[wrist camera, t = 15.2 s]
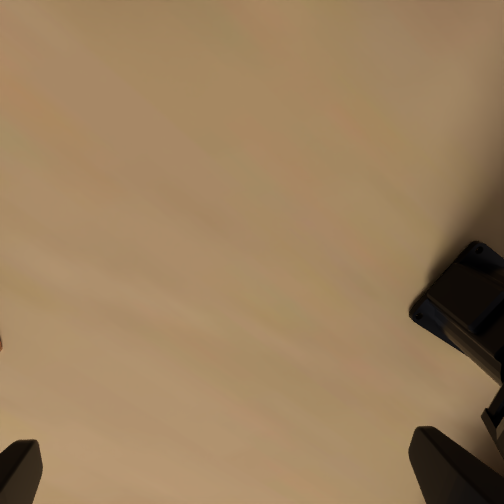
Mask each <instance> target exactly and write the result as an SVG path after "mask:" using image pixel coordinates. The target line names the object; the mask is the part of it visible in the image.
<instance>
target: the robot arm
mask: <svg viewBox="0 0 504 504" xmlns="http://www.w3.org/2000/svg"><path fill="white" fill-rule="evenodd" d="M476 248H478V250H477V251H475V250H476ZM418 313H419V315H418V316H416V315H417V314H418ZM409 317H410V318H411V319H412V320H413V321H414V322H415V323H417V324H418V325H420V326H421V327H423V328H424V329H426V330H428V331H429V332H431V333H432V334H434V335H435V336H437V337H438V338H440V339H442V340H443V341H445V342H446V343H448V344H449V345H451V346H453V347H454V348H456V349H457V350H459V351H460V352H462V353H463V354H465V355H467V356H468V357H469V358H470V359H472V360H473V361H474V362H475V363H476V364H477V365H478V366H479V367H480V368H481V369H482V370H483V371H485V372H486V373H487V374H488V375H489V376H490V377H491V378H492V379H493V380H494V381H495V382H497V383H498V384H499V385H500V386H501V387H500V389H499V391H498V392H497V394H496V396H495V397H494V399H493V401H492V402H491V404H490V406H489V407H488V408H485V410H484V412H483V413H482V415H481V418H482V420H483V422H484V424H485V426H486V428H487V429H488V431H489V433H490V435H491V437H492V439H493V441H494V442H495V444H496V446H497V448H498V450H499V452H500V453H501V455H502V457H503V459H504V259H503V258H502V257H501V256H499V255H498V254H497V253H496V252H495V251H493V250H492V249H491V248H490V247H488V246H487V245H486V244H484V243H482V242H480V241H473V242H472V243H470V244H469V245H468V247H467V248H466V249H465V250H464V251H463V252H462V253H461V254H460V255H459V257H458V258H457V259H456V260H455V261H454V262H453V263H452V264H451V266H450V267H449V268H448V269H447V270H446V271H445V272H444V273H443V274H442V276H441V277H440V278H439V279H438V280H437V281H436V282H435V283H434V284H433V286H432V287H431V288H430V289H429V290H428V291H427V292H426V293H425V295H424V296H423V297H422V298H421V299H420V300H419V301H418V302H417V303H416V305H415V306H414V307H413V308H412V309H411V310H410V312H409ZM408 453H409V459H410V462H411V465H412V468H413V470H414V473H415V475H416V478H417V481H418V483H419V486H420V489H421V491H422V494H423V497H424V499H425V502H426V504H504V478H503V477H502V476H500V475H499V474H498V473H496V472H495V471H494V470H492V469H491V468H490V467H488V466H487V465H485V464H484V463H483V462H481V461H480V460H479V459H477V458H476V457H475V456H473V455H472V454H471V453H469V452H468V451H466V450H465V449H464V448H462V447H461V446H460V445H458V444H457V443H456V442H454V441H453V440H451V439H450V438H449V437H447V436H446V435H445V434H443V433H442V432H441V431H439V430H438V429H436V428H435V427H432V426H419V427H417V428H416V429H415V431H414V434H413V437H412V440H411V443H410V446H409V452H408ZM42 471H43V464H42V458H41V453H40V448H39V443H38V441H37V440H34V439H30V440H17V441H15V442H13V443H12V444H11V445H10V446H8V447H7V448H6V449H5V450H4V451H3V452H1V453H0V504H32V503H33V500H34V497H35V494H36V491H37V488H38V485H39V482H40V479H41V476H42Z"/></svg>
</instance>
